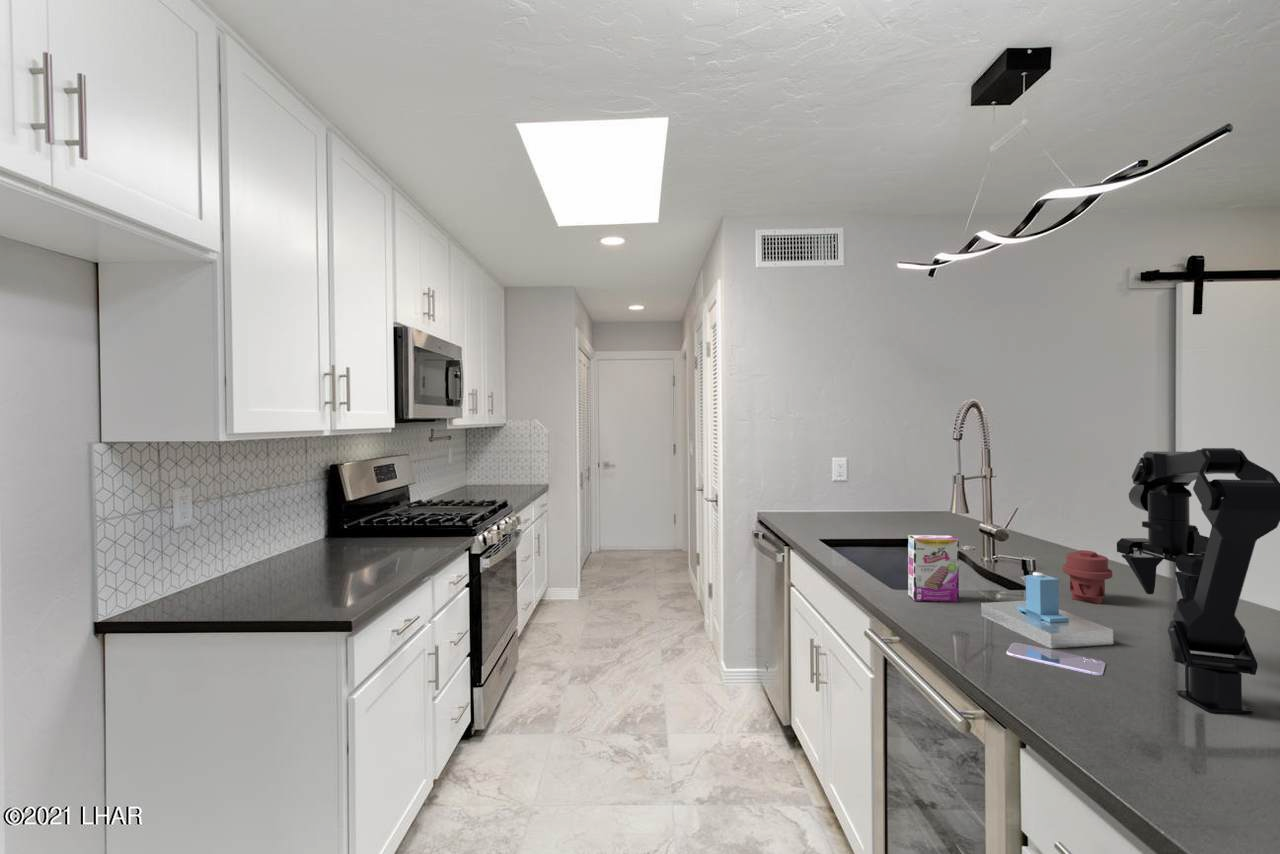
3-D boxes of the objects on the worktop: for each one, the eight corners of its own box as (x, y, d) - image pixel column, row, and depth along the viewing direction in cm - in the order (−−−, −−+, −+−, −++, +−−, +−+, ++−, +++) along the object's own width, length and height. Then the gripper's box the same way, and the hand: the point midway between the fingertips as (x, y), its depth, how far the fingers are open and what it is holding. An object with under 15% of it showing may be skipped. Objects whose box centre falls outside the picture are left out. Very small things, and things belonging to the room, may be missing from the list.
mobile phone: (1012, 640, 119) (1105, 659, 108) (1013, 645, 119) (1105, 665, 108) (1005, 651, 113) (1102, 673, 103) (1005, 656, 113) (1102, 678, 103)
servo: (1069, 635, 122) (1068, 579, 122) (1050, 637, 122) (1049, 580, 122) (1035, 621, 131) (1034, 568, 131) (1017, 622, 131) (1016, 569, 130)
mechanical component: (1121, 607, 139) (1072, 604, 142) (1101, 595, 149) (1056, 593, 152) (1120, 557, 139) (1072, 555, 142) (1100, 548, 149) (1055, 546, 152)
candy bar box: (914, 602, 146) (913, 538, 146) (907, 596, 151) (906, 534, 151) (960, 602, 145) (959, 538, 145) (951, 596, 150) (951, 534, 150)
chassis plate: (1113, 644, 117) (1113, 629, 117) (1051, 648, 116) (1050, 633, 116) (1035, 612, 137) (1035, 600, 137) (981, 615, 135) (981, 603, 135)
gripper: (1265, 527, 97) (1266, 619, 97) (1173, 510, 115) (1174, 587, 115) (1193, 527, 98) (1195, 618, 98) (1114, 510, 116) (1115, 587, 116)
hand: (1169, 601), depth 107 cm, fingers open, 9 cm apart
